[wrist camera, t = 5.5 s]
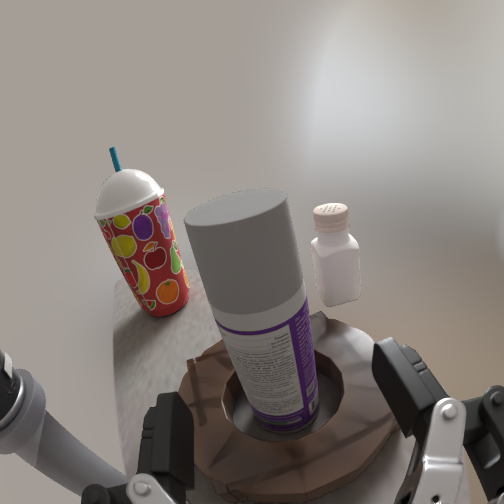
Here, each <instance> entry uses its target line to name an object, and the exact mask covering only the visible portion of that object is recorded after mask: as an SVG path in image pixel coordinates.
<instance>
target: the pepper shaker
mask: <svg viewBox="0 0 504 504" xmlns="http://www.w3.org/2000/svg"><path fill="white" fill-rule="evenodd" d="M313 213H314V220H315V227H316V228H315V230H316V232H317V238H315V239H314V240H313V241H312V242H311V249H312V257H313V265H314V273H315V281H316V288H317V290H318V292H319V294H320V296H321V298H322V300H323V302H324V304H325V305H326V306H327V307H332V306H335V305H339V304H343V303H346V302H350V301H354V300H357V299H358V298H359V297H360V260H359V259H360V258H359V245H358V244H357V242H356V240H355V239H354V238H353V237H352V236H351V235H349V219H348V209H347V207H346V205H343V204H338V203H331V204H324V205H321V206H318V207H316V208H315V209H314V210H313Z"/></svg>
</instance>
